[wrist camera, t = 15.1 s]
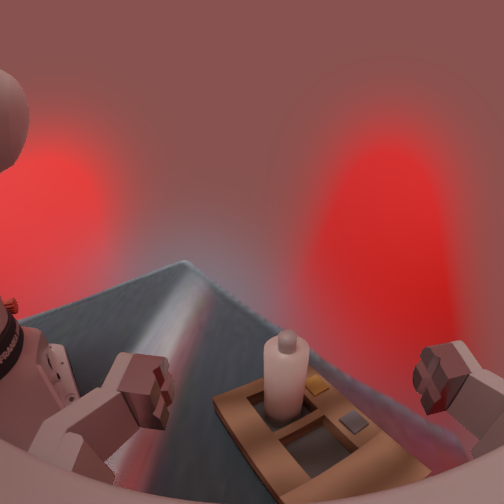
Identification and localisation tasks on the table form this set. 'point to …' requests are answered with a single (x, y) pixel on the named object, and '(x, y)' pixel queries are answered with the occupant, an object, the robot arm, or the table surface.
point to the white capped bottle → (284, 378)
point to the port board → (315, 445)
